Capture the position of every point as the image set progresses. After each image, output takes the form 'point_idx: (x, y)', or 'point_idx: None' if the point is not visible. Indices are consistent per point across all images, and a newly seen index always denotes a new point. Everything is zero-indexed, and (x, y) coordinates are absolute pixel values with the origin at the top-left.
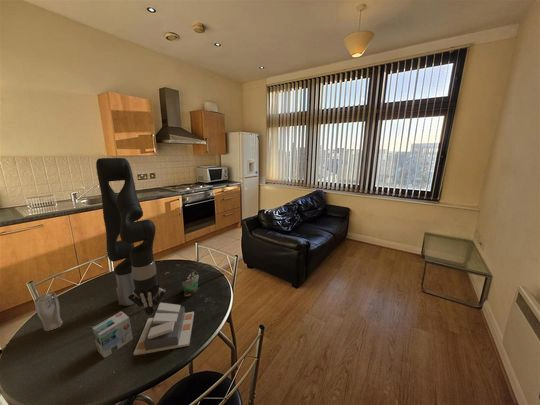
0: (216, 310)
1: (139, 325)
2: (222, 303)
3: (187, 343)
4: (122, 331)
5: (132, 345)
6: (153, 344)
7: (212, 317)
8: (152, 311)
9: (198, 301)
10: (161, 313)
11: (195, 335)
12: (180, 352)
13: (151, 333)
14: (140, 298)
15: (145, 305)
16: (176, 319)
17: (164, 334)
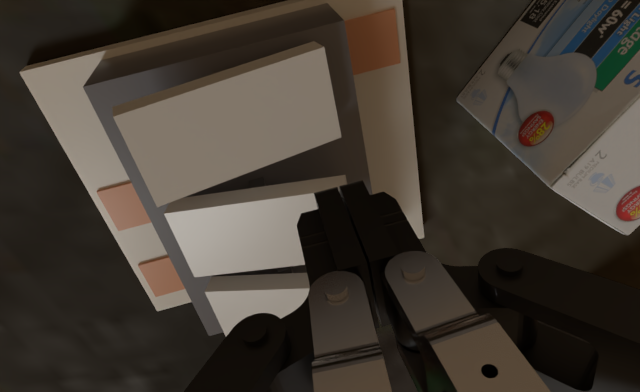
0: (15, 337)
1: (456, 192)
2: (10, 383)
3: (31, 73)
4: (546, 95)
5: (438, 53)
6: (272, 27)
7: (6, 289)
8: (312, 223)
9: (182, 372)
10: None
11: (35, 151)
12: (56, 4)
13: (305, 80)
14: (561, 383)
15: (421, 277)
16: (173, 228)
17: None
